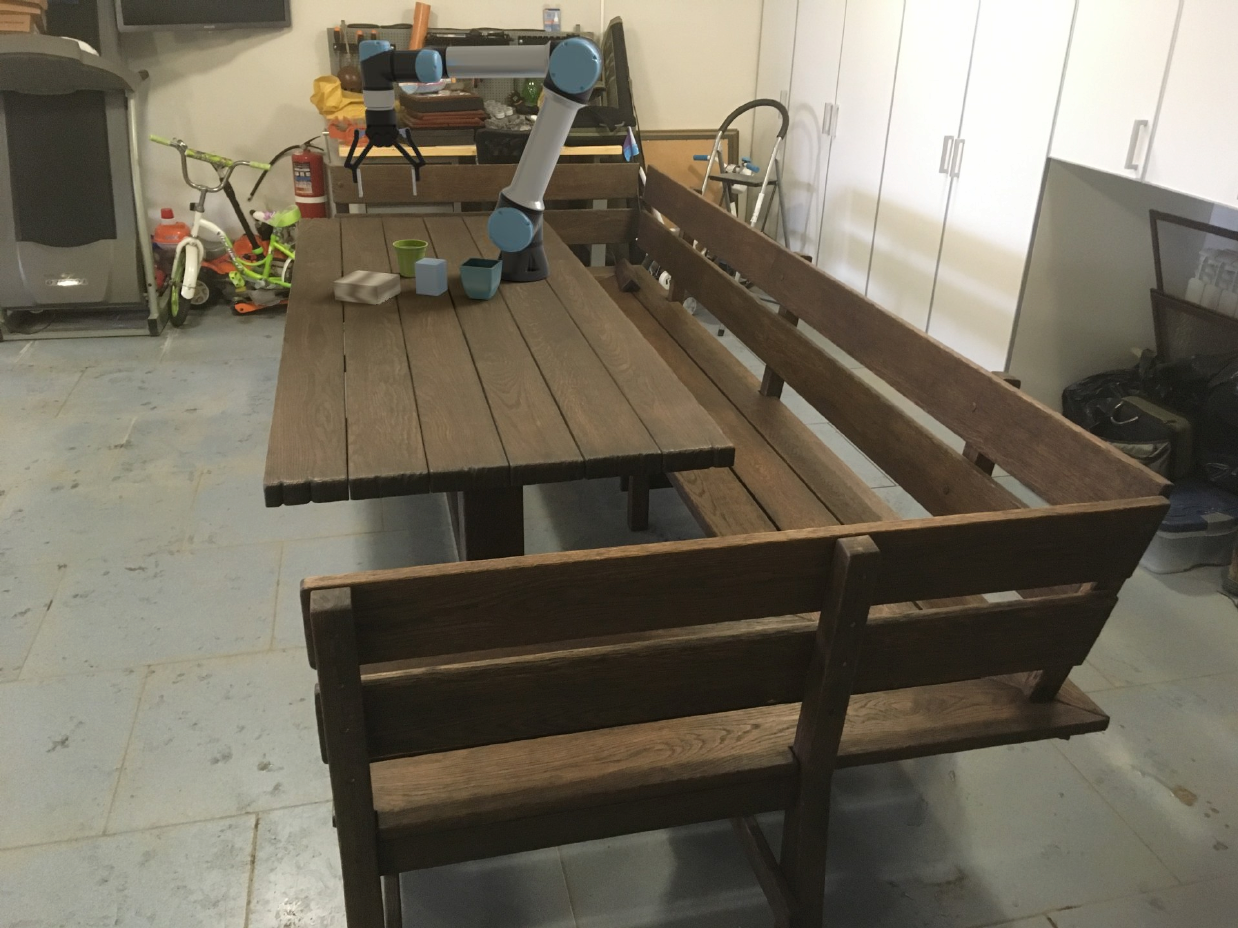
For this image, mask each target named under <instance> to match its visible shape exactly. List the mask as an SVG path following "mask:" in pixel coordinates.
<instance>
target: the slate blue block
mask: <svg viewBox="0 0 1238 928" xmlns="http://www.w3.org/2000/svg"><path fill="white" fill-rule="evenodd" d="M447 270H448V269H447V259H443V258H442V259H441V258H431V257H430V258H429V257H425V258H423V259H421V260H419V261H418V262H416V263H415V277H414V278H415V291H416V292H415V293H416V295H417V294H418V295H427V296H434V297H435V296H436V297H438V296H440V295H441V294H444V293H445V292H446V291H448V289H449V288H448V274H447V272H448V271H447Z"/></svg>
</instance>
